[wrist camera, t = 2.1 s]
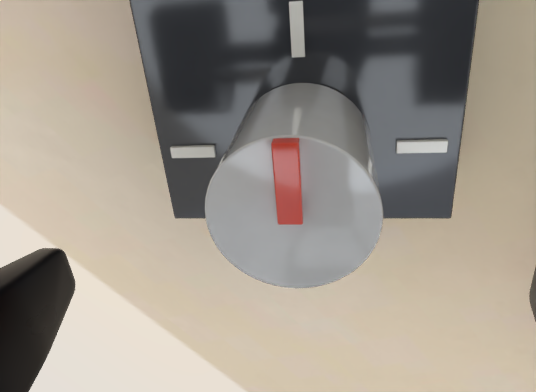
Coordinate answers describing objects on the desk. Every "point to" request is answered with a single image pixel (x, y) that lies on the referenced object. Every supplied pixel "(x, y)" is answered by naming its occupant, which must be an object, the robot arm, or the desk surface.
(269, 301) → the desk surface
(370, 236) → the rotary knob
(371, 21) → the rotary dial box
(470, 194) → the desk surface
